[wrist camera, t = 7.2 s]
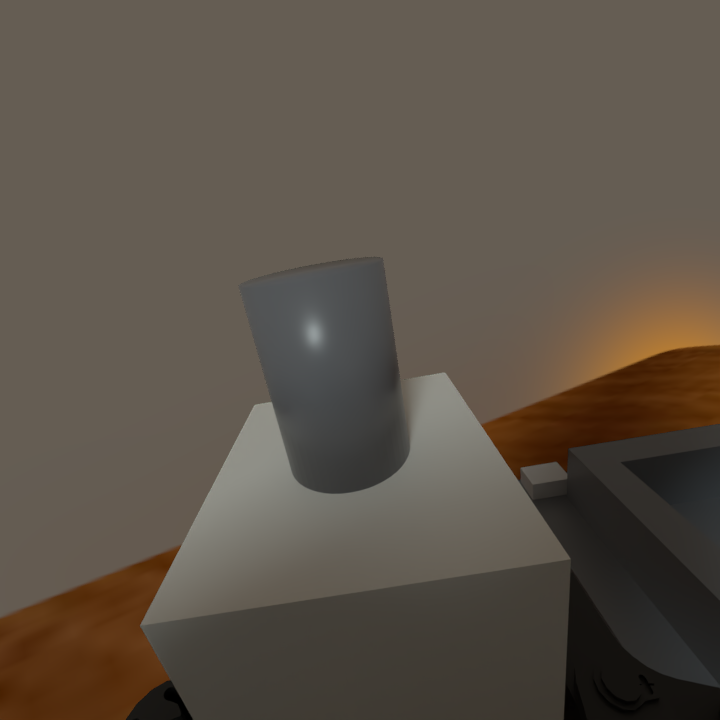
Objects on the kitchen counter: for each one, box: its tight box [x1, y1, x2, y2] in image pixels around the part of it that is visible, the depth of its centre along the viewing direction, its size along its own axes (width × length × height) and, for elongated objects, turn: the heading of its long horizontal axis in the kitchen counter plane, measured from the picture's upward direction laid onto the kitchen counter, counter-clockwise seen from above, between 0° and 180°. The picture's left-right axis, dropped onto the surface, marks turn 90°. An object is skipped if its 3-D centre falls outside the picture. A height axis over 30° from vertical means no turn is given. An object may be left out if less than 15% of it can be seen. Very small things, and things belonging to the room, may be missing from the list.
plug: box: [140, 257, 571, 720], centre depth 8 cm, size 4×5×16 cm
